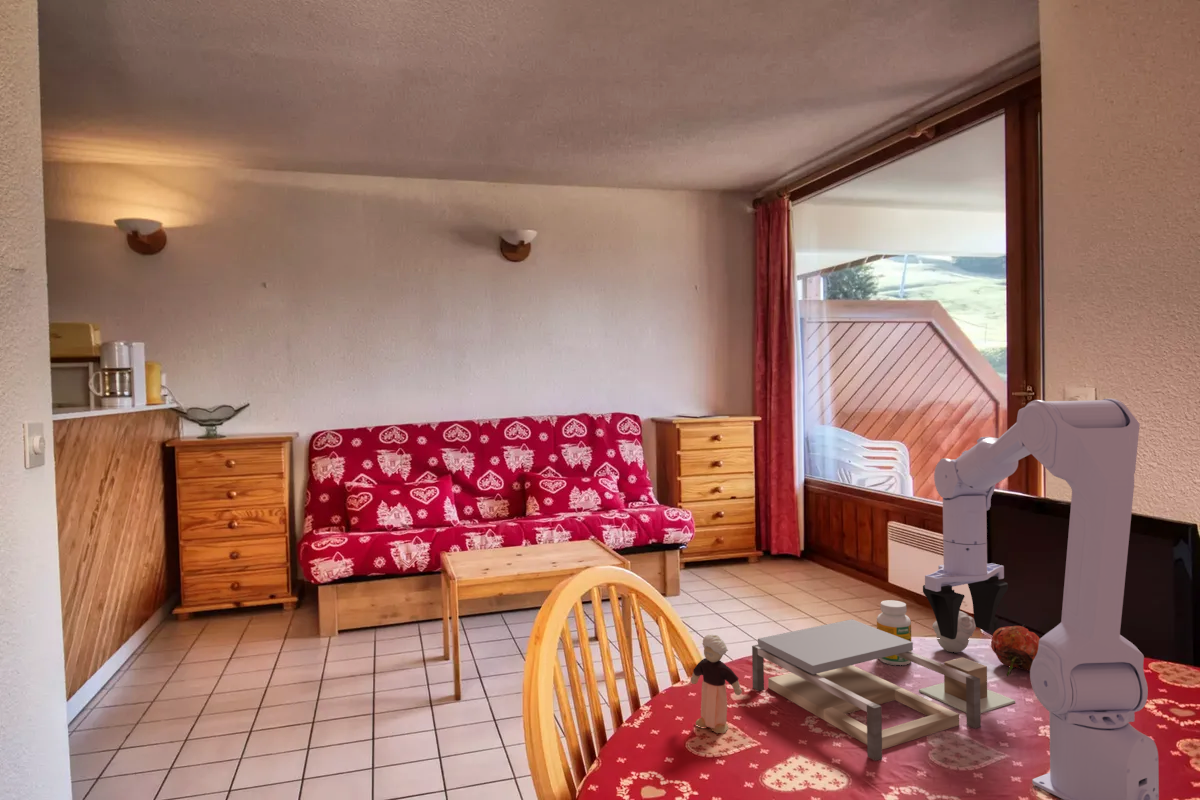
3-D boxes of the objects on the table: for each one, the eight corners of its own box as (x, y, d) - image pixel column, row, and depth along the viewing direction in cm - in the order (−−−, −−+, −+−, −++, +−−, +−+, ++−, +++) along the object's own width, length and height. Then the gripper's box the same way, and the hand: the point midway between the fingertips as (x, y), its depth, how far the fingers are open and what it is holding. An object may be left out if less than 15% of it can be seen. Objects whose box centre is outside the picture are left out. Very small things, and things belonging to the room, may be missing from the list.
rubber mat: (1015, 702, 102) (1015, 700, 102) (972, 715, 98) (972, 713, 98) (960, 679, 110) (960, 678, 110) (918, 691, 107) (918, 689, 107)
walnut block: (987, 697, 104) (986, 666, 104) (968, 702, 102) (967, 671, 102) (963, 686, 107) (962, 657, 107) (944, 692, 106) (944, 661, 105)
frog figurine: (982, 659, 119) (982, 617, 119) (938, 657, 120) (937, 616, 120) (970, 646, 125) (969, 606, 125) (927, 644, 126) (927, 605, 126)
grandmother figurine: (683, 728, 97) (682, 635, 96) (693, 716, 100) (692, 627, 100) (739, 740, 93) (737, 644, 93) (747, 727, 96) (745, 634, 96)
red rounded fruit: (1039, 696, 109) (1062, 645, 114) (1018, 663, 108) (1042, 613, 112) (993, 684, 116) (1016, 637, 120) (972, 653, 114) (996, 606, 118)
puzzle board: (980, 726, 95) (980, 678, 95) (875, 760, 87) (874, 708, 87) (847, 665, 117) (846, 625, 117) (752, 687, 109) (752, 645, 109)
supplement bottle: (890, 652, 123) (889, 596, 122) (918, 661, 118) (917, 604, 118) (870, 659, 120) (869, 602, 120) (899, 669, 115) (898, 610, 115)
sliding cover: (912, 650, 105) (912, 642, 105) (813, 674, 97) (812, 665, 97) (852, 626, 116) (852, 619, 116) (758, 646, 108) (757, 638, 108)
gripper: (973, 530, 111) (974, 617, 111) (906, 541, 105) (908, 632, 105) (1016, 539, 105) (1018, 630, 105) (948, 550, 98) (949, 647, 99)
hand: (965, 632), depth 104 cm, fingers open, 7 cm apart
